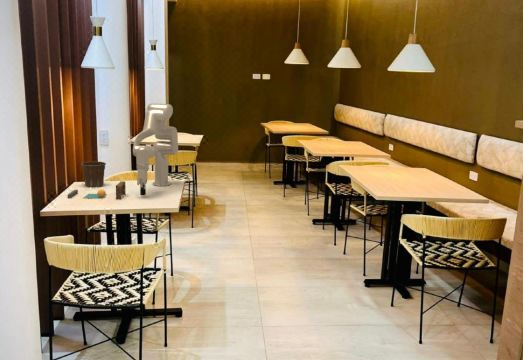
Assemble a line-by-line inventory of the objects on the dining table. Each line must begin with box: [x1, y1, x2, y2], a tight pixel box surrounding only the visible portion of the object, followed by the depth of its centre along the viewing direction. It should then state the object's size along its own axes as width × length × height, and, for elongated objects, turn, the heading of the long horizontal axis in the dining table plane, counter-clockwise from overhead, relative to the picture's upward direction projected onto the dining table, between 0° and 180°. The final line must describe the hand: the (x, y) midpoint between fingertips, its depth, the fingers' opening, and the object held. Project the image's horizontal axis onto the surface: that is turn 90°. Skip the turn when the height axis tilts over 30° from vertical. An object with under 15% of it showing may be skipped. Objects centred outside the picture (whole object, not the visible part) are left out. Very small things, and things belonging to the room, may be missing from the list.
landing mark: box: [83, 193, 108, 200], centre depth 313 cm, size 12×12×1 cm
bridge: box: [115, 180, 127, 200], centre depth 313 cm, size 3×14×9 cm, turn 3°
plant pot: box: [81, 161, 107, 189], centre depth 341 cm, size 16×16×16 cm
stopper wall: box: [67, 189, 79, 199], centre depth 311 cm, size 14×2×2 cm, turn 3°
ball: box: [96, 188, 107, 198], centre depth 310 cm, size 5×5×5 cm
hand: (143, 195), depth 314 cm, fingers closed
